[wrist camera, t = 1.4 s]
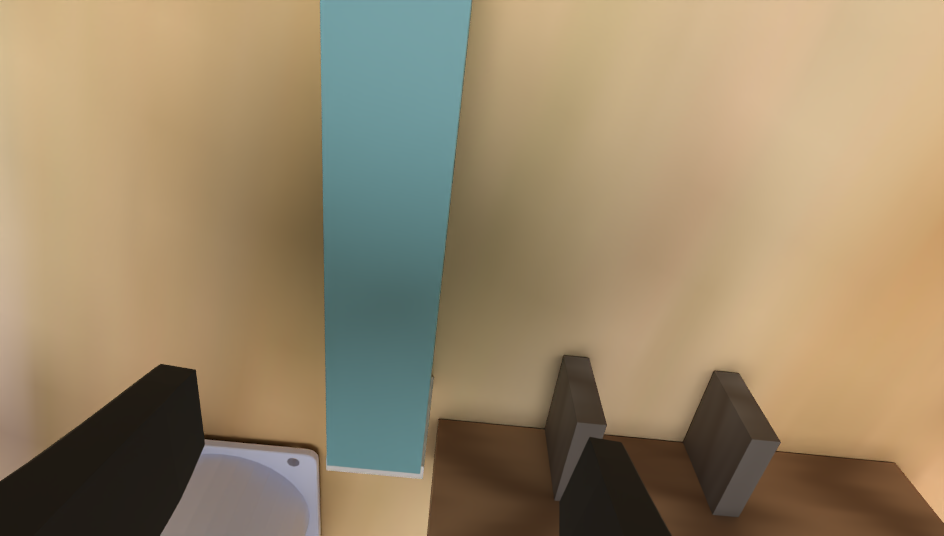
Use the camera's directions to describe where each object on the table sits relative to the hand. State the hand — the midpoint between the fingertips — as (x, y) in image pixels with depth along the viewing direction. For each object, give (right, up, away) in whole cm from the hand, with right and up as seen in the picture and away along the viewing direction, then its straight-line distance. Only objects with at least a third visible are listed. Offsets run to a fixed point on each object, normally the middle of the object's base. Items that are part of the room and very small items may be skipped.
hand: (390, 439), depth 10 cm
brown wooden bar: (+10, -4, +13) cm, 17 cm away
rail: (-1, +5, +8) cm, 10 cm away
